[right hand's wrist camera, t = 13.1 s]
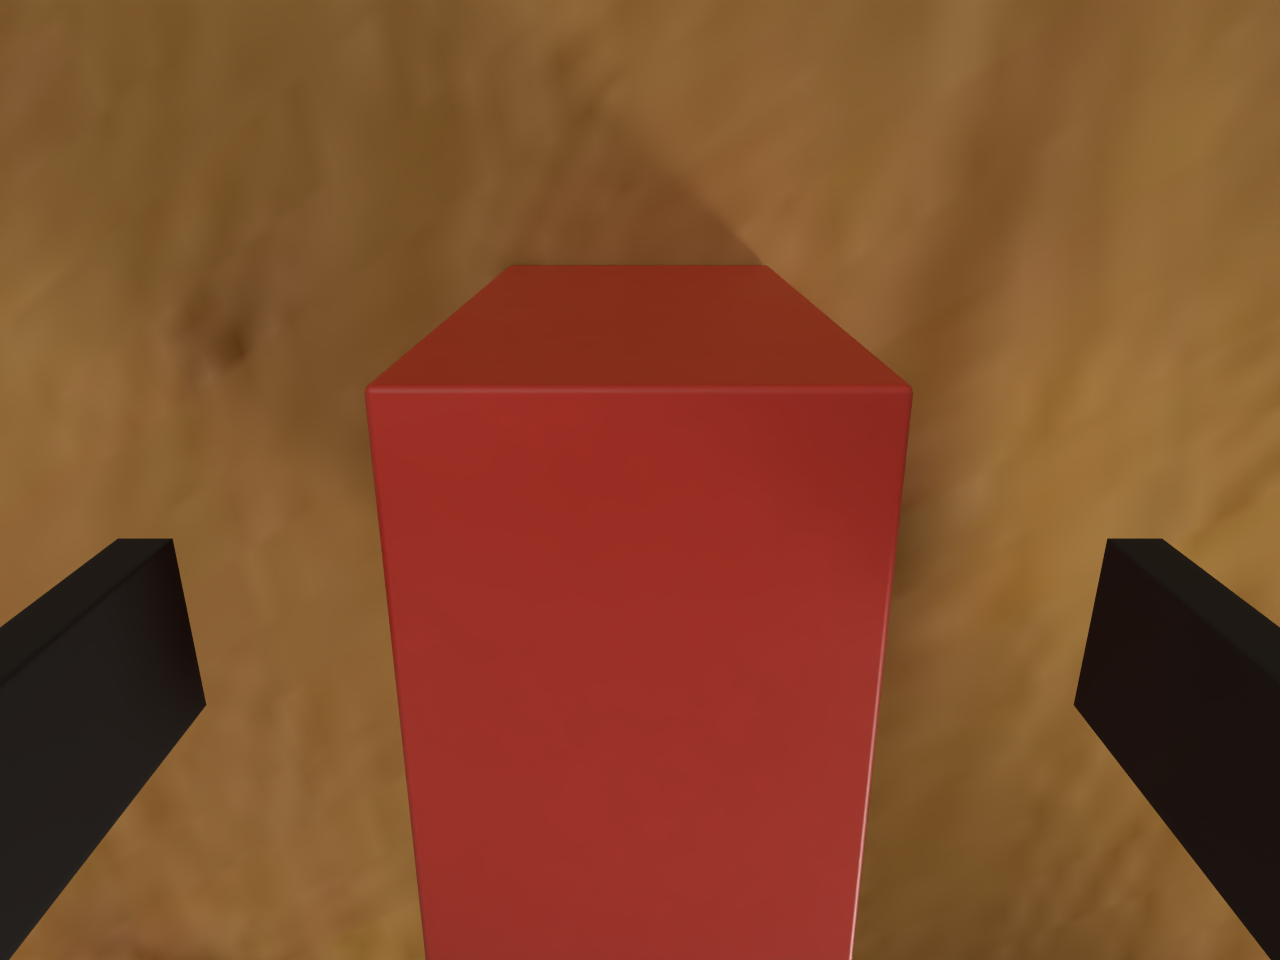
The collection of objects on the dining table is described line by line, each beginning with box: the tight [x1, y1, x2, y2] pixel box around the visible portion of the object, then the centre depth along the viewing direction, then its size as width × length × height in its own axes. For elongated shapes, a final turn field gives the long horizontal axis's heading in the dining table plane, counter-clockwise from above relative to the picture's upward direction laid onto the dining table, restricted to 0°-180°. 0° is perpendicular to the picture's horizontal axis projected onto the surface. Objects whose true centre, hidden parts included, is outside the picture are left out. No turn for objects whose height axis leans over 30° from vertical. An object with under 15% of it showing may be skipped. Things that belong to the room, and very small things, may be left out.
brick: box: [365, 265, 913, 960], centre depth 16 cm, size 9×6×11 cm
